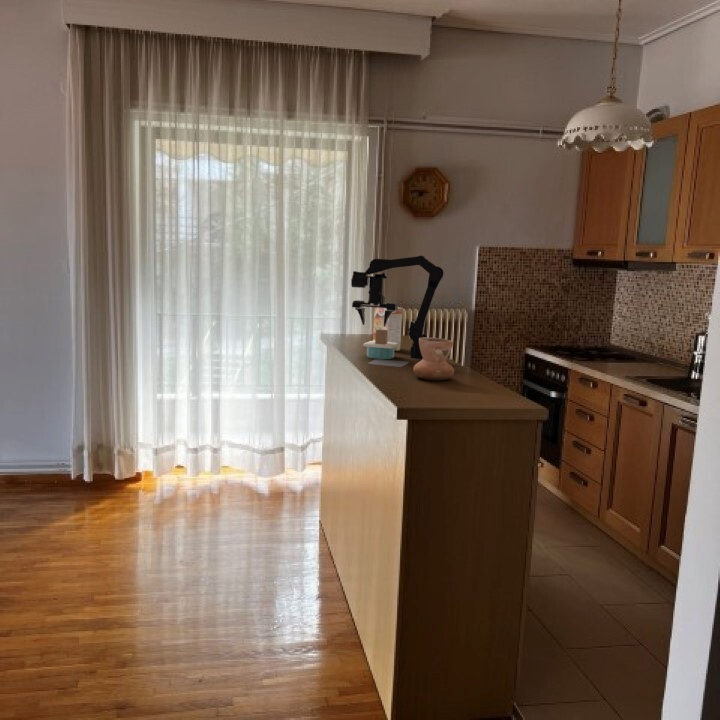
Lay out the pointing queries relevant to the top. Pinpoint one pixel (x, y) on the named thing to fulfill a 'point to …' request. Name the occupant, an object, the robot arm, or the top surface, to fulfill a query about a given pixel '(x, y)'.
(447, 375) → the ceramic jug
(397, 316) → the coffeecake box
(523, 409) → the top surface
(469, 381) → the top surface
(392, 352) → the bowl
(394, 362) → the mat
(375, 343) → the lid
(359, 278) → the robot arm
